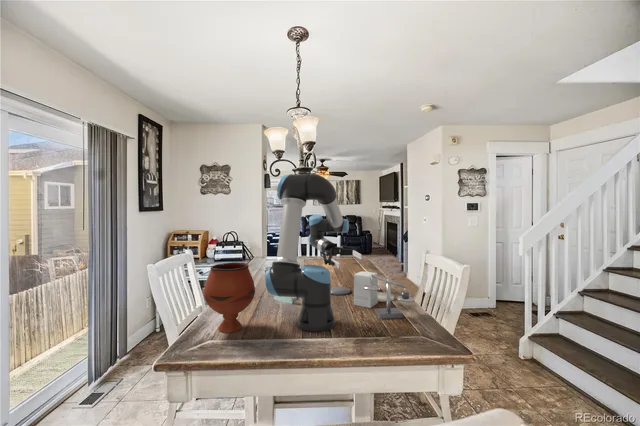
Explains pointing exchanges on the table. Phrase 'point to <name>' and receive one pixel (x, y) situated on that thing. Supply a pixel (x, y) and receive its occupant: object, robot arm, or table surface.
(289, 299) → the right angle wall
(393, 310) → the balance
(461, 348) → the table surface
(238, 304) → the goblet
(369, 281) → the supplement box
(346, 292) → the charcoal dish
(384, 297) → the cream dish
